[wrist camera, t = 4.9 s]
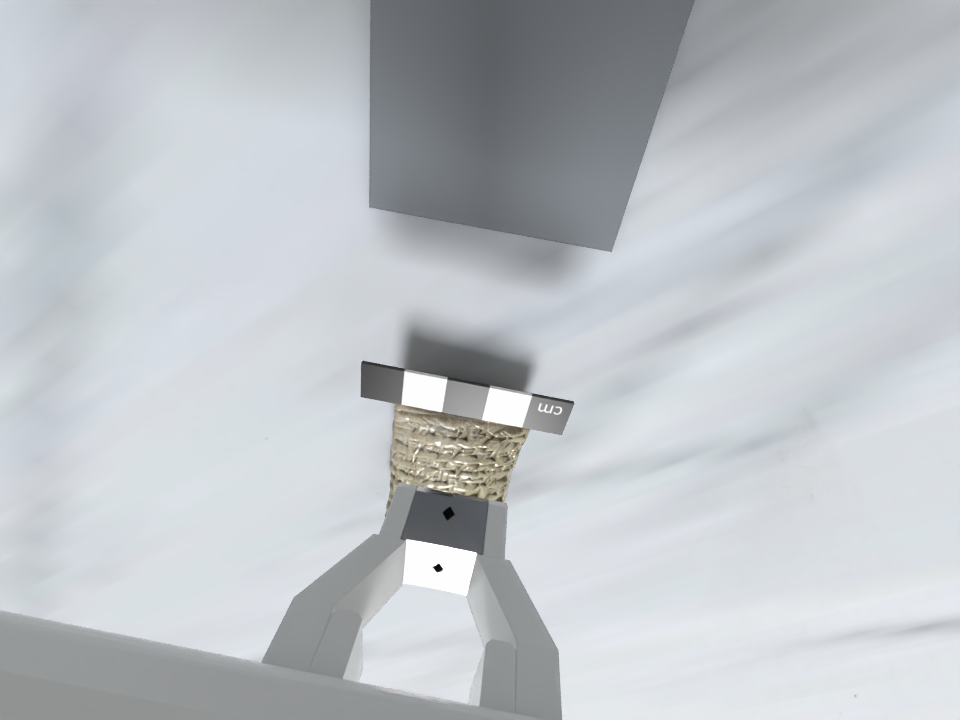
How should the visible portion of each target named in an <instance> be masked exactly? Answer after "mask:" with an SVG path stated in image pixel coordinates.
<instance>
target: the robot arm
mask: <svg viewBox="0 0 960 720" xmlns="http://www.w3.org/2000/svg"><path fill="white" fill-rule="evenodd" d="M507 508H508V506H507V503H504V502H498V501H493V500H488V499H485V498H479V497H473V496H468V495H462V494H456V493H453V494H452V493H448V492H443V491H439V490H434V489H430V488H425V487H421V486H416V485H411V484H406V483H401V482H400V483H399V484H398V486H397V487H396V490H395V493H394V496H393V498H392V501H391V504H390V506H389V509H388V512H387V515H386V517H385V520H384V523H383V525H382V528H381V531H380V534H379V535H377V534H373V535H372V536H370V537H369V538H368V539H367V540H365V541H364V542H363V543H362V544H360V545H359V546H358V547H357V548H355V549H354V550H353V551H352V552H350V553H349V554H348V555H347V556H345V557H344V558H343V559H342V560H340V561H339V562H338V563H337V564H335V565H334V566H333V567H332V568H330V569H329V570H328V571H327V572H325V573H324V574H323V575H322V576H320V577H319V578H318V579H317V580H315V581H314V582H313V583H312V584H310V585H309V586H308V587H307V588H305V589H304V590H303V591H302V592H300V593H299V594H298V595H297V596H295V597H294V598H293V600H292V602H291V604H290V606H289V608H288V610H287V612H286V614H285V616H284V618H283V620H282V622H281V624H280V626H279V628H278V630H277V632H276V634H275V636H274V638H273V640H272V642H271V644H270V646H269V648H268V650H267V652H266V654H265V656H264V658H263V660H262V662H256V661H251V660H246V659H241V658H236V657H231V656H226V655H221V654H216V653H211V652H206V651H201V650H196V649H191V648H186V647H181V646H176V645H171V644H166V643H161V642H156V641H151V640H146V639H141V638H136V637H131V636H126V635H121V634H116V633H111V632H106V631H101V630H96V629H91V628H86V627H81V626H76V625H71V624H66V623H61V622H56V621H51V620H46V619H41V618H36V617H31V616H26V615H21V614H16V613H11V612H6V611H1V610H0V720H562V710H561V691H560V672H559V653H558V649H557V647H556V645H555V643H554V642H553V640H552V638H551V636H550V634H549V632H548V630H547V629H546V627H545V625H544V623H543V621H542V619H541V617H540V615H539V614H538V612H537V610H536V608H535V606H534V604H533V602H532V601H531V599H530V597H529V595H528V593H527V591H526V589H525V588H524V586H523V584H522V582H521V580H520V578H519V576H518V574H517V573H516V571H515V569H514V567H513V565H512V563H511V561H510V560H505V543H506V525H507ZM403 583H407V584H413V585H419V586H425V587H431V588H437V589H441V590H446V591H450V592H454V593H459V594H463V595H467V596H466V598H467V601H468V603H469V606H470V609H471V612H472V615H473V618H474V620H475V623H476V626H477V629H478V632H479V635H480V638H481V640H482V643H483V646H484V650H483V653H482V656H481V659H480V662H479V665H478V668H477V671H476V674H475V677H474V680H473V683H472V686H471V689H470V695H469V704H465V703H460V702H455V701H450V700H445V699H440V698H435V697H430V696H425V695H420V694H415V693H410V692H405V691H400V690H395V689H391V688H386V687H381V686H376V685H371V684H366V683H361V682H359V679H360V676H361V672H362V629H363V628H364V627H365V626H366V625H367V623H368V622H369V621H370V620H371V619H372V618H373V617H374V616H375V615H376V614H377V612H378V611H379V610H380V609H381V608H382V607H383V606H384V605H385V604H386V603H387V601H388V600H389V599H390V598H391V597H392V596H393V595H394V594H395V593H396V592H397V591H398V589H399V588H400V587H401V586H402V585H403Z"/></svg>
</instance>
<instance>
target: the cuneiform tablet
mask: <svg viewBox="0 0 960 720" xmlns="http://www.w3.org/2000/svg"><path fill="white" fill-rule="evenodd" d="M361 397H364V398H369V399H375V400H380V401H385V402H390V403H396V405H395V411H394V421H393V427H392V430H393V437H392V445H391V450H390V455H391V461H390V469H391V481H390V489H391V490H390V494H389V499H388V502H387V507H386V509H387V511H386V514H385V517H386V515H387V512H388V509H389V506H390V504H391V501H392V498H393V496H394V493H395V490H396V487H397V486H398V484H399V483H400V482H401V483H406V484H411V485H416V486H421V487H425V488H430V489H434V490H439V491H443V492H448V493H452V494H453V493H456V494H462V495H468V496H473V497H479V498H485V499H488V500H493V501H498V502H504V501H505V499H506V496H507V491H508V487H509V483H510V477H511V473H512V470H513V467H514V466H515V464H516V461H517V459H518V456H519V452H520V449H521V446H522V445H523V444H524V442H525V440H526V438H527V436H528V433H529V430H530V429H532V430H538V431H543V432H548V433H553V434H559V435H562V433H563V431H564V428H565V426H566V423H567V421H568V418H569V416H570V413H571V411H572V408H573V406H574V401H569V400H564V399H558V398H553V397H548V396H543V395H538V394H532V393H527V392H522V391H517V390H512V389H507V388H501V387H496V386H491V385H486V384H481V383H475V382H470V381H465V380H460V379H455V378H449V377H444V376H439V375H434V374H429V373H423V372H418V371H413V370H408V369H403V368H398V367H392V366H387V365H382V364H377V363H372V362H366V361H362V363H361Z"/></svg>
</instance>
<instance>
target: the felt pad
mask: <svg viewBox="0 0 960 720" xmlns="http://www.w3.org/2000/svg"><path fill="white" fill-rule="evenodd" d="M693 3H694V0H371V37H370V189H369V207H370V208H376V209H381V210H387V211H392V212H397V213H403V214H408V215H414V216H419V217H425V218H430V219H436V220H441V221H446V222H452V223H457V224H463V225H468V226H474V227H479V228H485V229H490V230H495V231H501V232H506V233H512V234H517V235H523V236H528V237H534V238H539V239H544V240H550V241H555V242H561V243H566V244H572V245H577V246H582V247H588V248H593V249H599V250H604V251H610V252H612V249H613V246H614V243H615V240H616V237H617V234H618V231H619V228H620V225H621V222H622V219H623V216H624V212H625V209H626V206H627V203H628V200H629V197H630V194H631V191H632V188H633V185H634V182H635V179H636V176H637V173H638V170H639V167H640V164H641V161H642V158H643V155H644V152H645V149H646V146H647V143H648V140H649V136H650V133H651V130H652V127H653V124H654V121H655V118H656V115H657V112H658V109H659V106H660V103H661V100H662V97H663V94H664V91H665V88H666V85H667V82H668V79H669V76H670V73H671V70H672V67H673V64H674V60H675V57H676V54H677V51H678V48H679V45H680V42H681V39H682V36H683V33H684V30H685V27H686V24H687V21H688V18H689V15H690V12H691V9H692V6H693Z"/></svg>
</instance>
